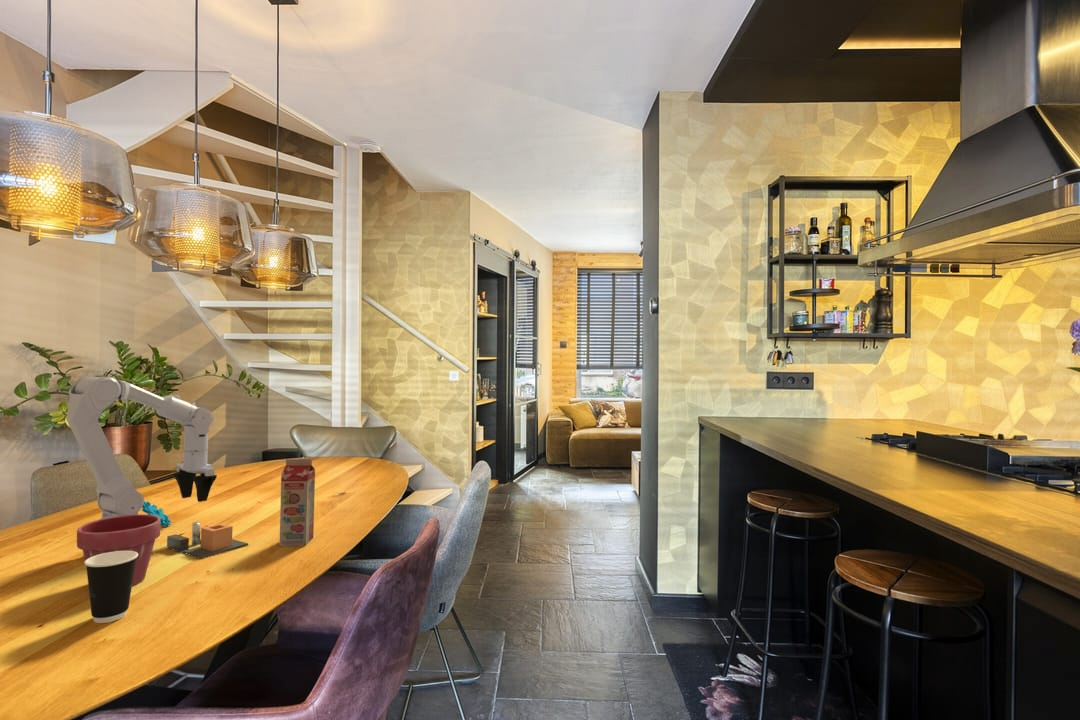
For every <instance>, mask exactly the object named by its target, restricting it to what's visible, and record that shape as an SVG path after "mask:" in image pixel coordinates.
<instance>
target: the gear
mask: <svg viewBox="0 0 1080 720" xmlns="http://www.w3.org/2000/svg"><path fill="white" fill-rule="evenodd" d="M141 511H142V512H143V513H146V514H147V515H154V516H158V517H159V518H160V526H162V527H169V526H170V525H171V523H172V520H171V519H169V518H170V517H169V516H168V515H167V514H165V513H164V512H165V511H164V509H163V508H161V507H160V508H159V509H158V506H157V505H156V504H153V505H152V503H151V502H150V501H148V500H147V501H145V500H144V504H143V506H142V508H141ZM168 525H169V526H168Z"/></svg>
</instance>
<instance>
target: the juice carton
mask: <svg viewBox="0 0 1080 720" xmlns="http://www.w3.org/2000/svg"><path fill="white" fill-rule="evenodd" d="M315 480H316V469H315V467H314V466H313V459H306V458H305V459H303V458H298V459H297V458H293V459H292V458H289V459H288V458H286V459H285V466H284V468H283V471H282V473H281V475H280V507H279V508H280V510H279V511H280V513H279V514H280V516H279V517H280V518H279V545H278V546H279V547H292V546H293V547H302V546H304V547H305V546H307V545H308V544H309V543H310V542H311V541H312V540H313V539H314V531H315V530H314V529H315V527H314V523H315V521H314V520H315V493H316V492H315V490H316V489H315V487H316V481H315Z"/></svg>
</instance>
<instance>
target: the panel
mask: <svg viewBox="0 0 1080 720" xmlns="http://www.w3.org/2000/svg"><path fill="white" fill-rule="evenodd" d="M247 546H249V543H248V542H245V541H240V540H237V539H234V538H232V546H230V547H226V548H223V549H219V550H216V551H210V550H206V549H203V548H201V545H198V546H195V547H192V548H189V549H188V550H184V551H183V552H182V554H185V553H187V554H186V555H188V554H190V555H189V556H191V555H193V556H192V557H194V556H196V557H195V558H198V557H199V558H198V559H201V558H202V559H205V558H204V557H206V558H209V557H212V556H211V555H213V556H215V554H216V555H220V554H223V553H227V552H229V551H233V550H236V549H240V548H243V547H247ZM226 551H227V552H226ZM219 553H220V554H219ZM208 556H209V557H208Z"/></svg>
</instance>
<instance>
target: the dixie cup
mask: <svg viewBox="0 0 1080 720" xmlns="http://www.w3.org/2000/svg"><path fill="white" fill-rule="evenodd" d="M137 557H138V553H137V552H134V551H115V552H108V553H103V554H99V555H96V556H93V557H90V558H88V559H87V560H86V561H85V560H84V565H85V567H86V576H87V585H88V594H89V602H90V603H89V604H90V606H89V607H90V613H91V617H92V619H93V622H94V623H97V624H106V623H111V622H116V621H119V620H121V619H123V618H124V617H126V615H127V611H128V609H129V607H130V606H129V605H130V600H131V593H132V588H133V585H132V582H133V575H134V569H135V562H136V558H137ZM120 618H121V619H120Z"/></svg>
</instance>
